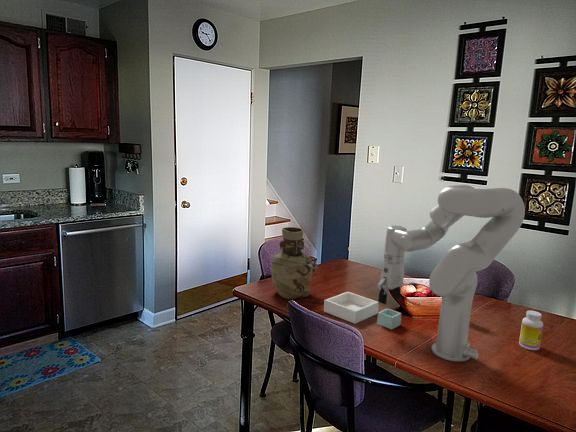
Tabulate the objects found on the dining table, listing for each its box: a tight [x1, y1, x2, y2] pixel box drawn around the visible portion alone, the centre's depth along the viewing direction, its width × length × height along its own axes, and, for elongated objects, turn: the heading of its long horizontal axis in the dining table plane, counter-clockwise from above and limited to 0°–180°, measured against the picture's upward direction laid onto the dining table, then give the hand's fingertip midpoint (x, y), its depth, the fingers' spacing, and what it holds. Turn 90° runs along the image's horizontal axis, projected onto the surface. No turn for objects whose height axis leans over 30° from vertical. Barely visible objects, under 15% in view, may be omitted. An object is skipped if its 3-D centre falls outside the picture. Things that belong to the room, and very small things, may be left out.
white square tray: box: [323, 291, 380, 325], centre depth 181 cm, size 16×16×5 cm
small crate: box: [376, 308, 402, 330], centre depth 170 cm, size 6×6×5 cm
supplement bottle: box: [518, 310, 544, 351], centre depth 155 cm, size 7×7×13 cm
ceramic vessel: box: [270, 226, 318, 300], centre depth 198 cm, size 19×21×30 cm
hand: (389, 299), depth 170 cm, fingers open, 9 cm apart
